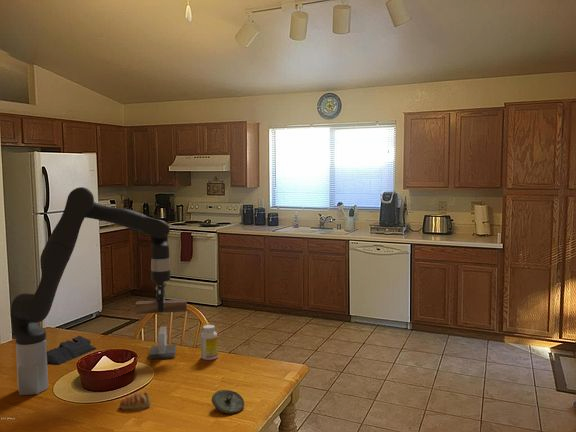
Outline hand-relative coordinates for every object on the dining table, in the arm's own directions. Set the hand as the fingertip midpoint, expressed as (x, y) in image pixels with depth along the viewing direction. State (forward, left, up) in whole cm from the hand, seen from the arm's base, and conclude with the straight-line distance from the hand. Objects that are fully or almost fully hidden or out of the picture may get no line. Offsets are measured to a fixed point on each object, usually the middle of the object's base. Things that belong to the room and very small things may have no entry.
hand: (161, 310), depth 200 cm
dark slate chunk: (+7, +39, -19) cm, 45 cm away
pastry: (-45, +4, -19) cm, 49 cm away
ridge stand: (0, 0, -18) cm, 18 cm away
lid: (-51, -25, -19) cm, 60 cm away
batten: (0, 0, 0) cm, 0 cm away
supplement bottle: (-7, -19, -19) cm, 28 cm away
